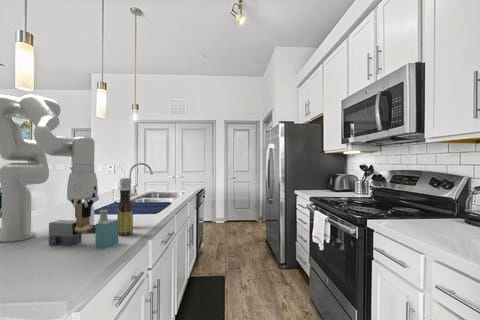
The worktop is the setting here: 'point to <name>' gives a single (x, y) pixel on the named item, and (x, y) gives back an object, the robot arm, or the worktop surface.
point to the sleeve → (63, 233)
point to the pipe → (124, 182)
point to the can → (91, 220)
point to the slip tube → (82, 221)
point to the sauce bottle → (125, 213)
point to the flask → (103, 216)
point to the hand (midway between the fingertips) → (82, 216)
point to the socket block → (106, 234)
